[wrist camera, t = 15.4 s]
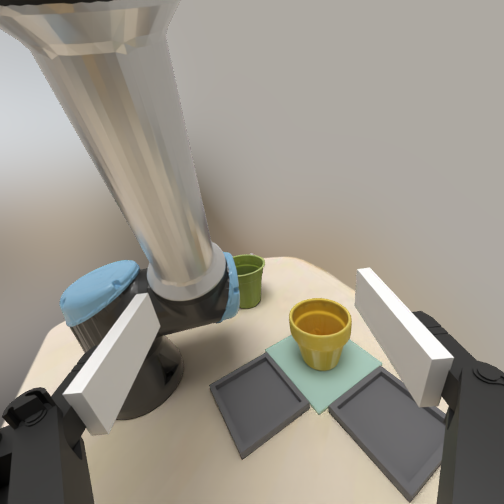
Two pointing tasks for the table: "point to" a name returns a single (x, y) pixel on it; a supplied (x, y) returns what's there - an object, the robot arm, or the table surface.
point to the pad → (323, 382)
